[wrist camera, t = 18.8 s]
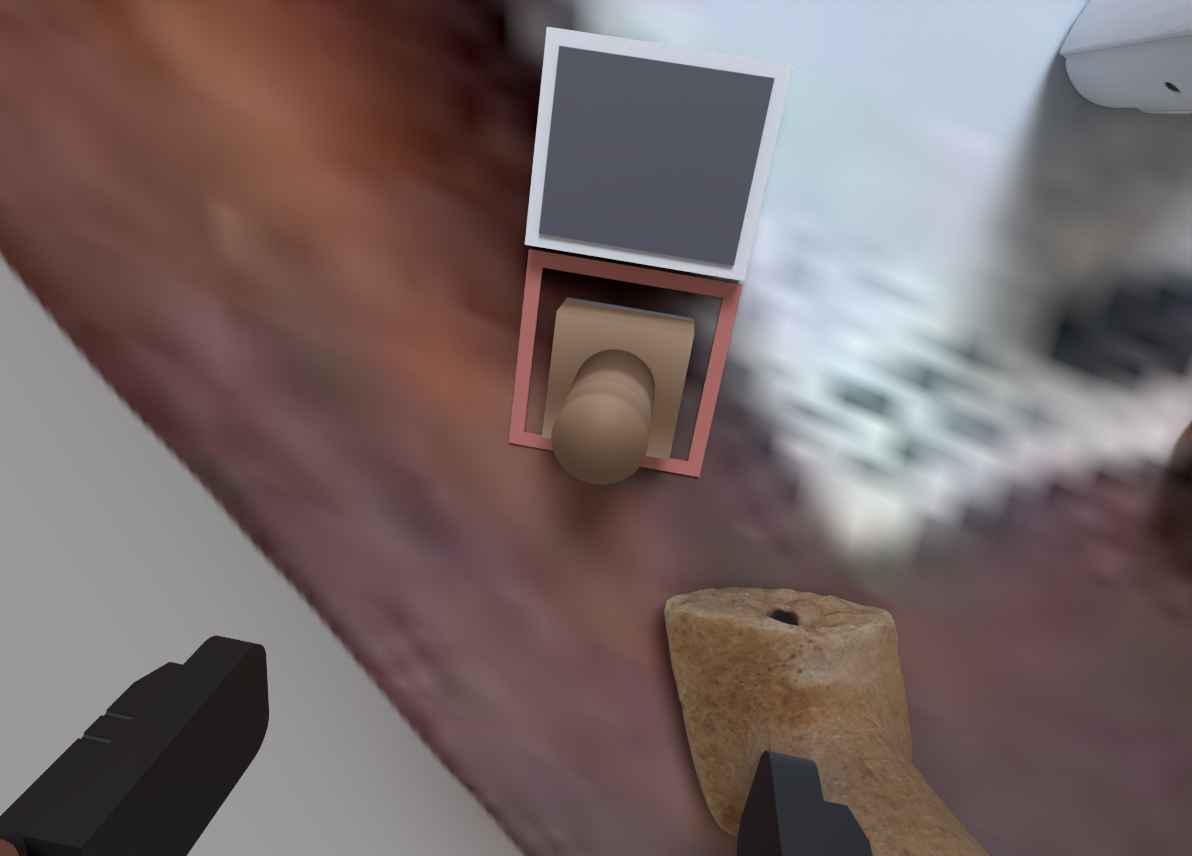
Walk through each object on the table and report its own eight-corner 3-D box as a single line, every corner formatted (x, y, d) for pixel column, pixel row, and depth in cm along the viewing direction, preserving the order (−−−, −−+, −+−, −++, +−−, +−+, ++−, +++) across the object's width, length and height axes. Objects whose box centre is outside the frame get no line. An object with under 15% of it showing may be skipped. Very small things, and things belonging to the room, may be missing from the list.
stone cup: (947, 810, 36) (1106, 1232, 22) (706, 818, 38) (714, 1208, 24) (941, 547, 31) (1146, 890, 17) (661, 574, 33) (639, 897, 19)
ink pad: (554, 32, 25) (545, 26, 23) (787, 66, 24) (793, 63, 23) (532, 238, 28) (523, 245, 26) (741, 273, 27) (744, 282, 26)
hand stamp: (567, 296, 28) (528, 350, 22) (693, 318, 28) (694, 379, 21) (552, 413, 30) (512, 497, 24) (670, 434, 30) (664, 525, 23)
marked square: (529, 248, 28) (528, 249, 28) (742, 284, 27) (742, 285, 27) (509, 441, 31) (508, 442, 31) (699, 476, 31) (699, 477, 31)
